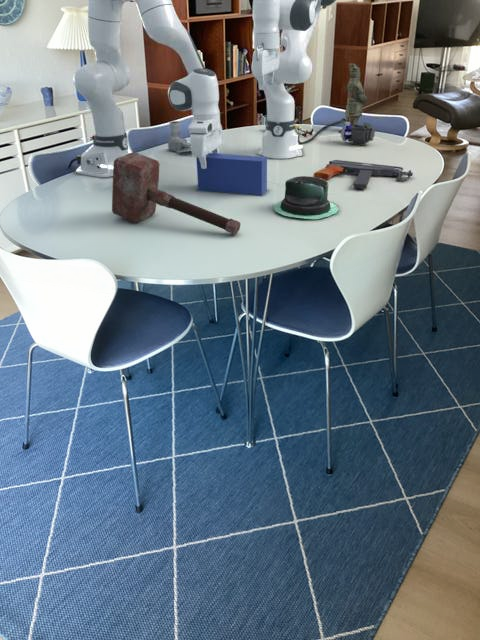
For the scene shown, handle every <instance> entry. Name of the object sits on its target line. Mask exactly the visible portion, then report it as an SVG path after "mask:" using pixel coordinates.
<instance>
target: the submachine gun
mask: <svg viewBox="0 0 480 640" xmlns="http://www.w3.org/2000/svg"><path fill="white" fill-rule="evenodd" d="M403 170H404V167H402V166H397V165H396V166H394V165H385V164H376V163H369V162H368V163H367V162H361V161H360V162H359V161H349V160H343V159H342V160H341V159H333V160H329V161H328V163H327V164H326V166H325V168H323V169H320V170H318V171H315V172H314V173H313V177H317V178H322V179H323V180H325V181H327V180H330V178H332V177H333V176H336V175H341V174H342V175H349V176H350V175H351V176H352V175H357V176H356V178H355V179H354V180H355V181H354V182H353V189H361V190H366V189H367V186H368V184H369V182H370V180H371V177H372V176H375V177H381V176H382V177H383V176H385V177H397V178H396V180H397V181H399V182H406V181H408V180H409V179H410V178H411V177H413V175H414V173H413V172H412V170H411V169H409V170H408V171H403ZM402 176H406V178H402Z"/></svg>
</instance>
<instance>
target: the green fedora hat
mask: <svg viewBox="0 0 480 640" xmlns="http://www.w3.org/2000/svg"><path fill="white" fill-rule="evenodd" d="M284 184H285V185H284V187H285V190H284V198H283V199H282V200H281V201H278V202H276V203H275V204H274V205H273V210H274V212H275V213H277V214H280V215H282V216H285V217H289V218H298V219H304V220H320V219H323V218H328V217H330V216H332V215H335V214H337V212H338V210H339V208H338V206H337V204H334V203H333V202H331V201H329V200H328V195H329V182H328V181H327V180H324V179H322V178H317V177H314V176H309V175H308V176H307V175H306V176H305V175H302V176H295V177H292V178H289V179H287V180H285V183H284Z"/></svg>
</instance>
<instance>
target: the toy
mask: <svg viewBox="0 0 480 640" xmlns="http://www.w3.org/2000/svg"><path fill="white" fill-rule="evenodd" d="M357 124H358V123H357ZM357 124H355V125H354V127H352V124H350V122H346V121H345V122H344V123H343V126H342V128H341V129H339V130H338V134H340V137H341V139H342V141H343V142H346V141H348V142H349V143H352V145H358V146H359V145H360V146H366V144H367V143H369V142H373V140H374V138H375V133H376V129H375V127H374V126H372V123H370V122H363V124H358V125H357Z"/></svg>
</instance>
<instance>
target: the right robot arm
mask: <svg viewBox="0 0 480 640" xmlns="http://www.w3.org/2000/svg"><path fill="white" fill-rule="evenodd" d="M336 1H337V0H252V20H253V29H252V49H253V50H254V51H253V54H252V61H251V73H252V76H253V77H254V78H255V80H256V81H257V84H258V90H259V91H263V92H264V96H265V100H266V101H265V102H266V120H265V131H264V132H263V133H262V135H261V149H260V150H258V151H257V155H258V156H263V157H267V159H268V158H269V159H279V160H281V159H282V160H283V159H293V158H295V157H296V158H297V157H302V156H303V150H302V148H303V145H305V144H307V143H309V142H311V141H313V140H315V138H316V137H317V136H318V135H319V134H320V133H321V132H323V130H325V129H327V128H329V127H331V126H334V125H337V124H340V123H342V122H343V121H344V122H346V117H342V118H341V119H340V120H338V121H334V122H331V123H329V124H326V125H325V126H322V128H320V129H319V130H318V131H316V133H315V134H314V135H312V137H311V138H308V139H307V140H305V141H301V140H300V135H299V134H297V133H296V132H295V126H296V122H295V120H296V118H295V103H296V101H295V99H294V96H292V95H291V94H290V93H289V92H288V91H287V90H286V88H285V84H286V85H297V84H298V85H299V84H303V83H307V82H308V81H309V80H310V78H311V76H312V73H313V62H312V60H311V58H310V57H309V56H308V53H307V49H308V46H309V43H310V41H311V38H312V35H313V33H314V31H315V29H316V26H317V23H318V20H319V16H320V10H321V9H322V10H325V9H326V8H327V7H330V6H331V5H332V4H334V3H335V2H336ZM280 32H281V33H280ZM282 46H283V47H284V49H285V50H284V51H281V47H282Z"/></svg>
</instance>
